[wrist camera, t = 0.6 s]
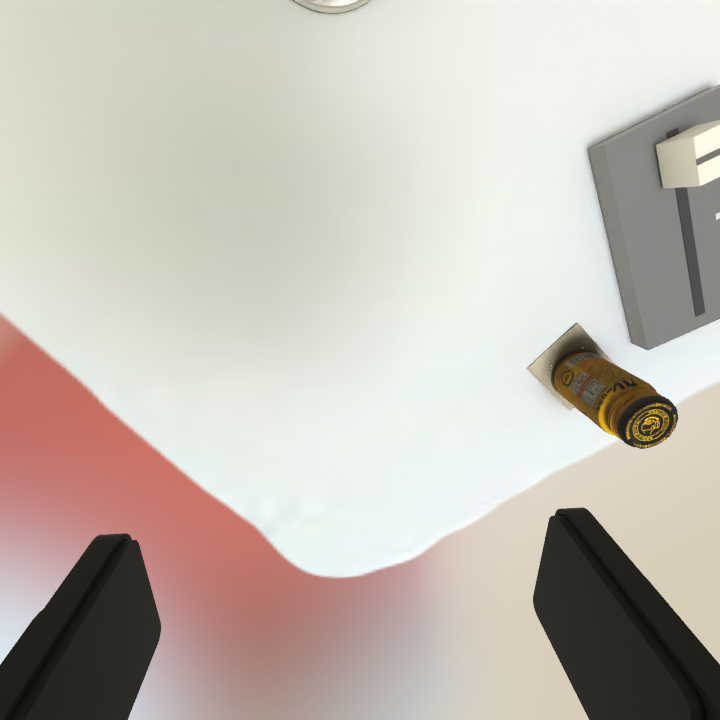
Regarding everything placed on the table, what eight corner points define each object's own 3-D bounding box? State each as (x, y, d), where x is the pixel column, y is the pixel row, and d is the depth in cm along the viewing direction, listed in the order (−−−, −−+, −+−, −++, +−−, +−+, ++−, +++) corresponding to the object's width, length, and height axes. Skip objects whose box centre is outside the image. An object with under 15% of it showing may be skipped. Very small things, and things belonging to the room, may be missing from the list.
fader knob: (655, 145, 36) (693, 137, 32) (695, 125, 35) (739, 115, 32) (662, 188, 37) (700, 186, 33) (701, 170, 37) (744, 165, 33)
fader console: (587, 148, 38) (604, 144, 36) (710, 87, 37) (737, 79, 35) (631, 343, 46) (648, 350, 43) (735, 297, 45) (758, 302, 42)
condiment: (569, 410, 49) (640, 470, 37) (526, 368, 46) (588, 419, 35) (617, 368, 47) (707, 417, 36) (575, 322, 44) (658, 360, 33)
